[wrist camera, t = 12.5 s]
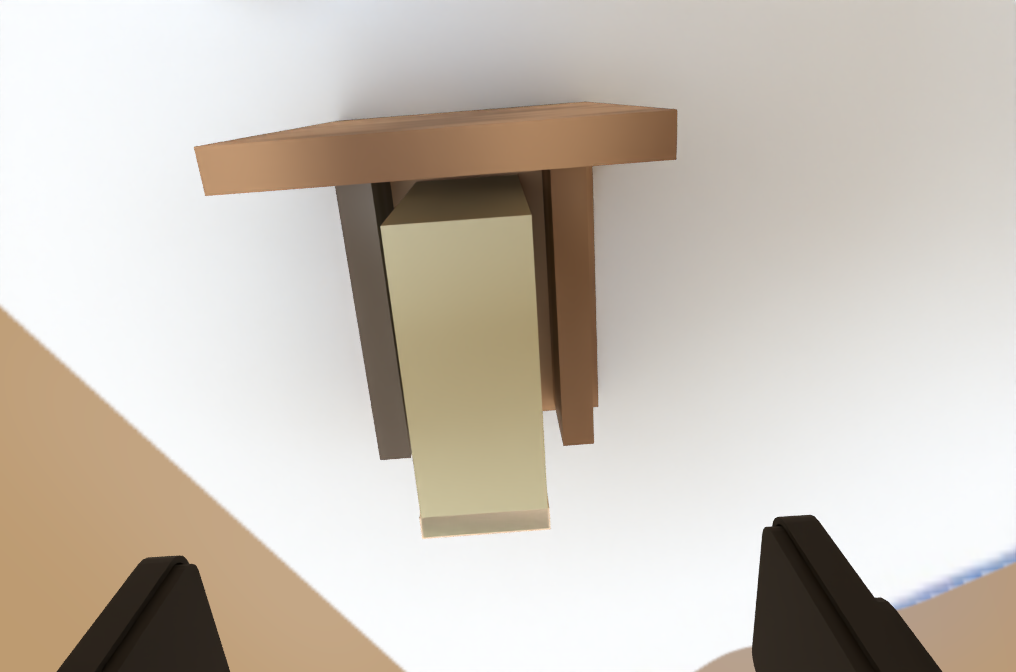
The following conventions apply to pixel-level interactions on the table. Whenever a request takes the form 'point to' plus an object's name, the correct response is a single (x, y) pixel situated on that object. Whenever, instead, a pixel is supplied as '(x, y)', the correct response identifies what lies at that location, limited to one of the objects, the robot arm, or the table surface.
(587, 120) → the shelf
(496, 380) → the beige rectangular block
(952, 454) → the table surface
